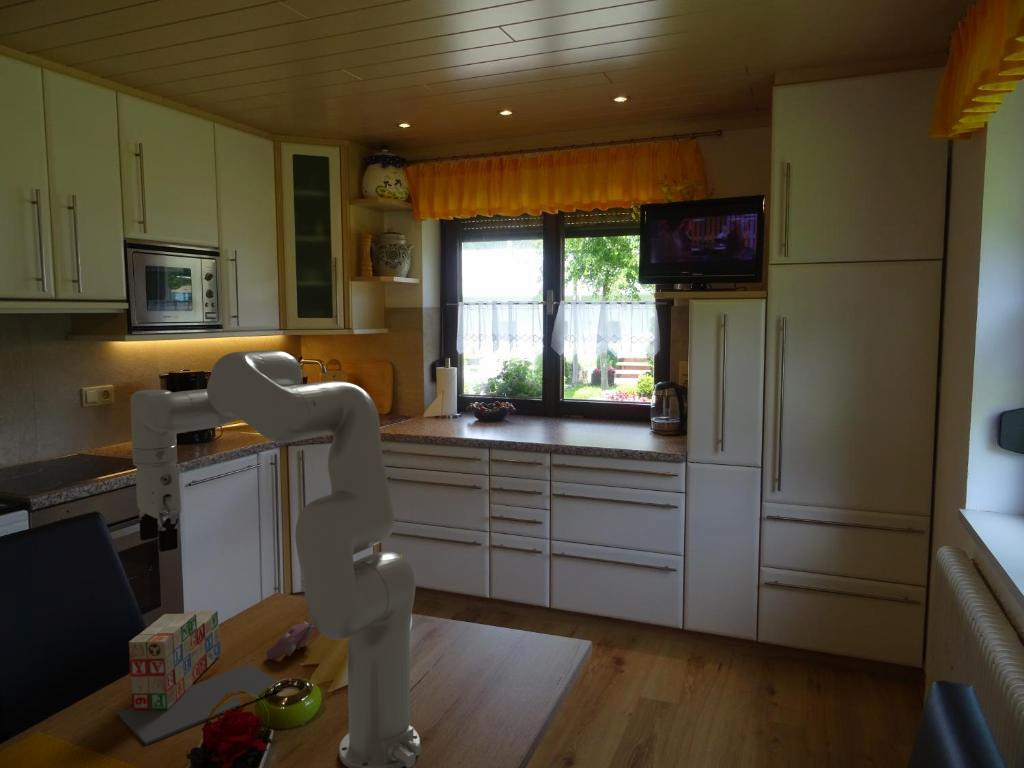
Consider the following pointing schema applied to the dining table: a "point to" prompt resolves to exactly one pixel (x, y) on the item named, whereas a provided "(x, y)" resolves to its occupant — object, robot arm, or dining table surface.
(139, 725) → the mat
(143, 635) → the stack of blocks
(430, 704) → the dining table surface
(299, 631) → the purple toy animal
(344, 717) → the dining table surface
